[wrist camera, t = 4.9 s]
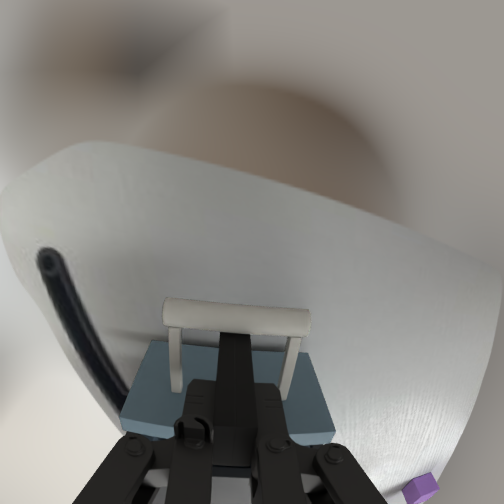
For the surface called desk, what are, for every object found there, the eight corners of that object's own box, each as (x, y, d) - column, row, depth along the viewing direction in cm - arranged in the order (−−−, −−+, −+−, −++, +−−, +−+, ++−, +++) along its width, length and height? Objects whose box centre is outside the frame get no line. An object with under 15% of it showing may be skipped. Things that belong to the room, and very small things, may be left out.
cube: (412, 478, 31) (421, 496, 27) (431, 472, 32) (440, 488, 27) (401, 490, 33) (408, 507, 28) (419, 484, 33) (427, 500, 29)
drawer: (149, 262, 18) (98, 321, 10) (325, 278, 19) (372, 343, 11) (164, 445, 23) (152, 507, 16) (277, 453, 24) (287, 516, 16)
